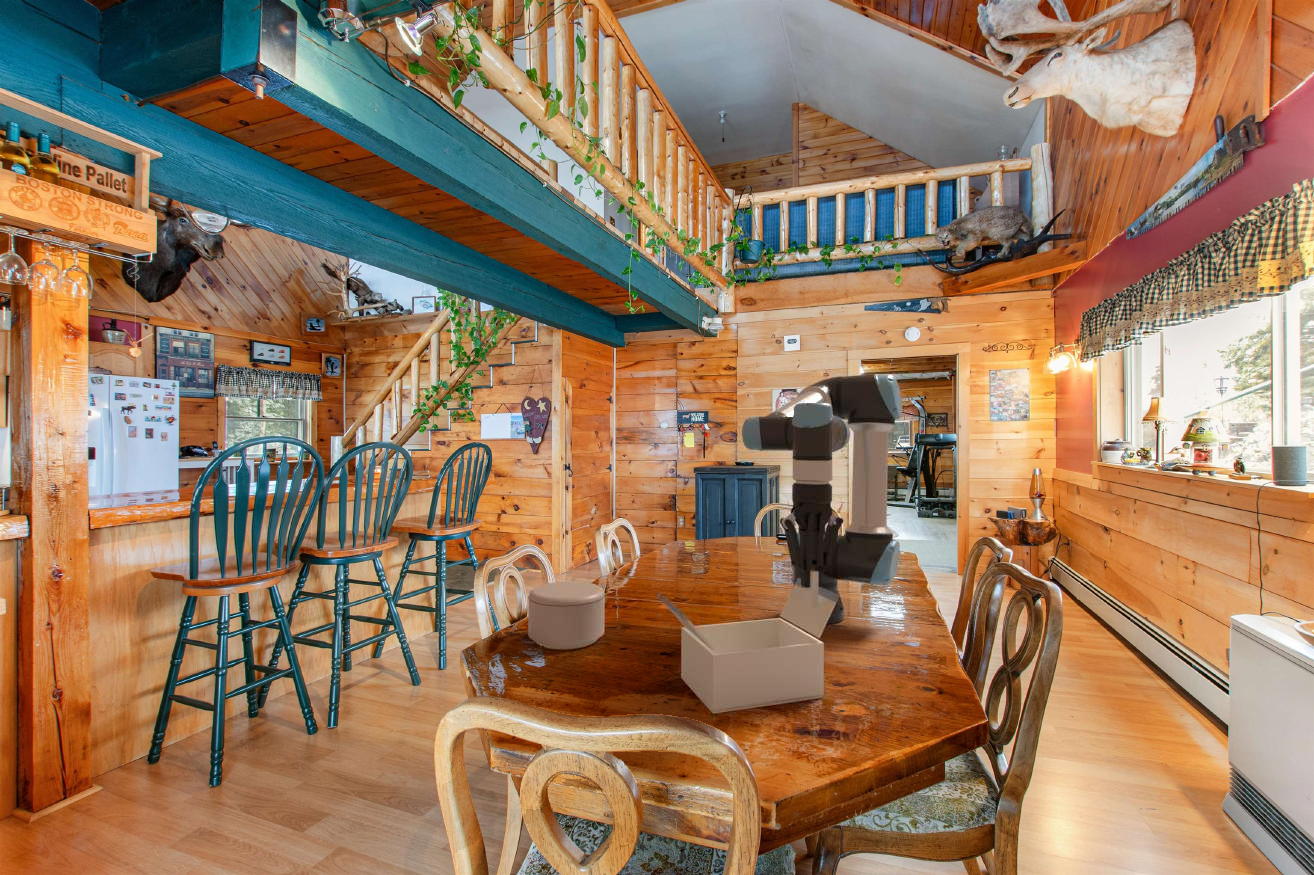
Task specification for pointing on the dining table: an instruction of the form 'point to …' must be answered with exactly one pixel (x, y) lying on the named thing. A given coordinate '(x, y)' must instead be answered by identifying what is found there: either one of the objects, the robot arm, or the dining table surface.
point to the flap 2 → (809, 609)
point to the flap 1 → (685, 621)
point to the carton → (752, 664)
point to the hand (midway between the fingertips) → (811, 603)
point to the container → (566, 614)
